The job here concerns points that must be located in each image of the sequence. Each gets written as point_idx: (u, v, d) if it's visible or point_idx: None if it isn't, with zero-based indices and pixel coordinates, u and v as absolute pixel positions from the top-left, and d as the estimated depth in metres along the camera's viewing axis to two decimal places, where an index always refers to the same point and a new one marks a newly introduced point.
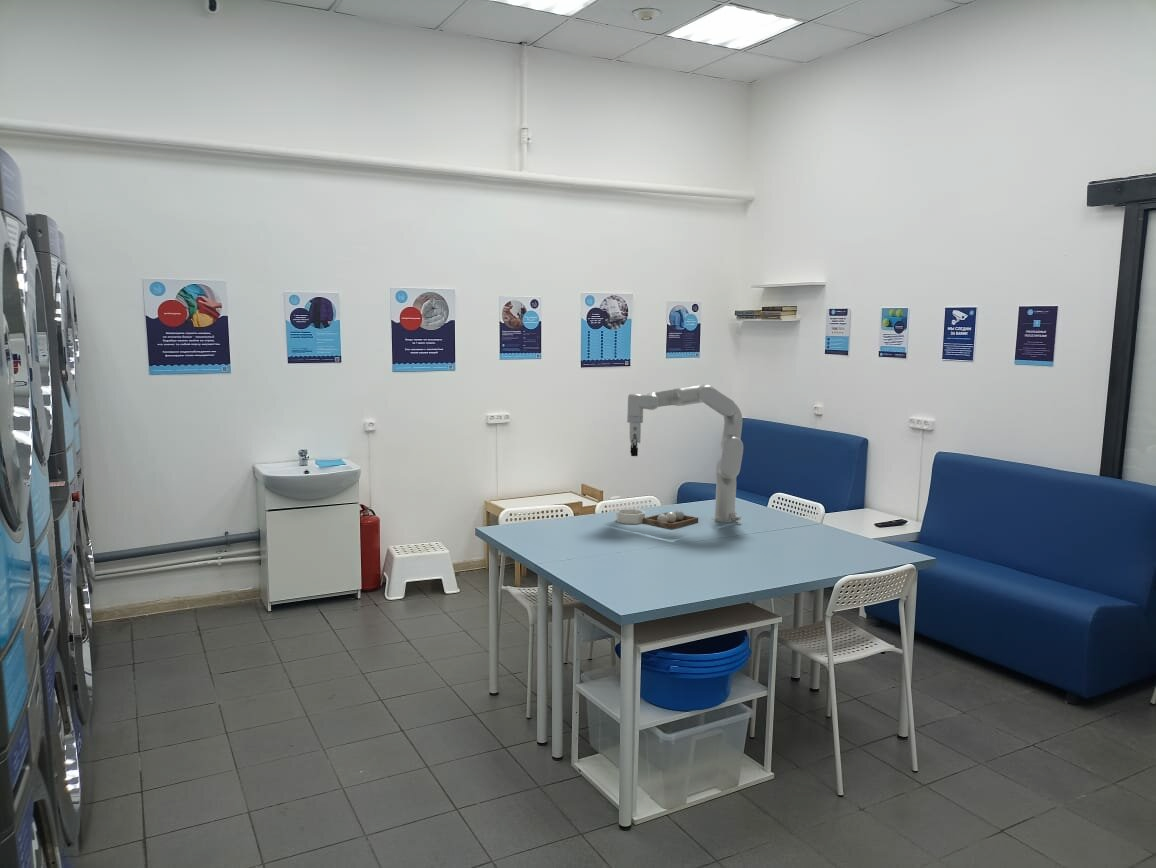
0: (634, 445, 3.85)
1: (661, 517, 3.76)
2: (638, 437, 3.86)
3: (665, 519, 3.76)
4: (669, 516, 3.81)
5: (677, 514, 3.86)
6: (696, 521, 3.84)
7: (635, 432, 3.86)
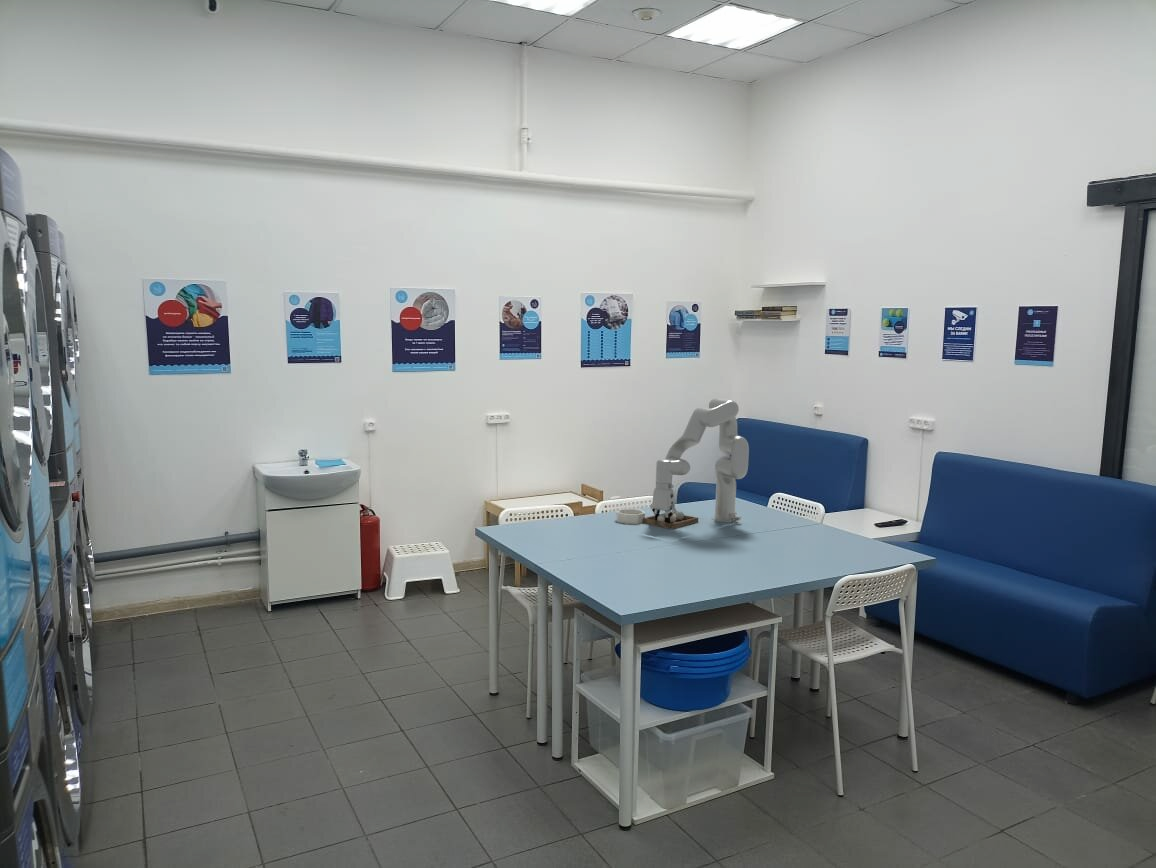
0: None
1: (661, 517, 3.76)
2: (674, 504, 3.75)
3: None
4: None
5: (677, 514, 3.86)
6: (696, 521, 3.84)
7: (672, 499, 3.74)
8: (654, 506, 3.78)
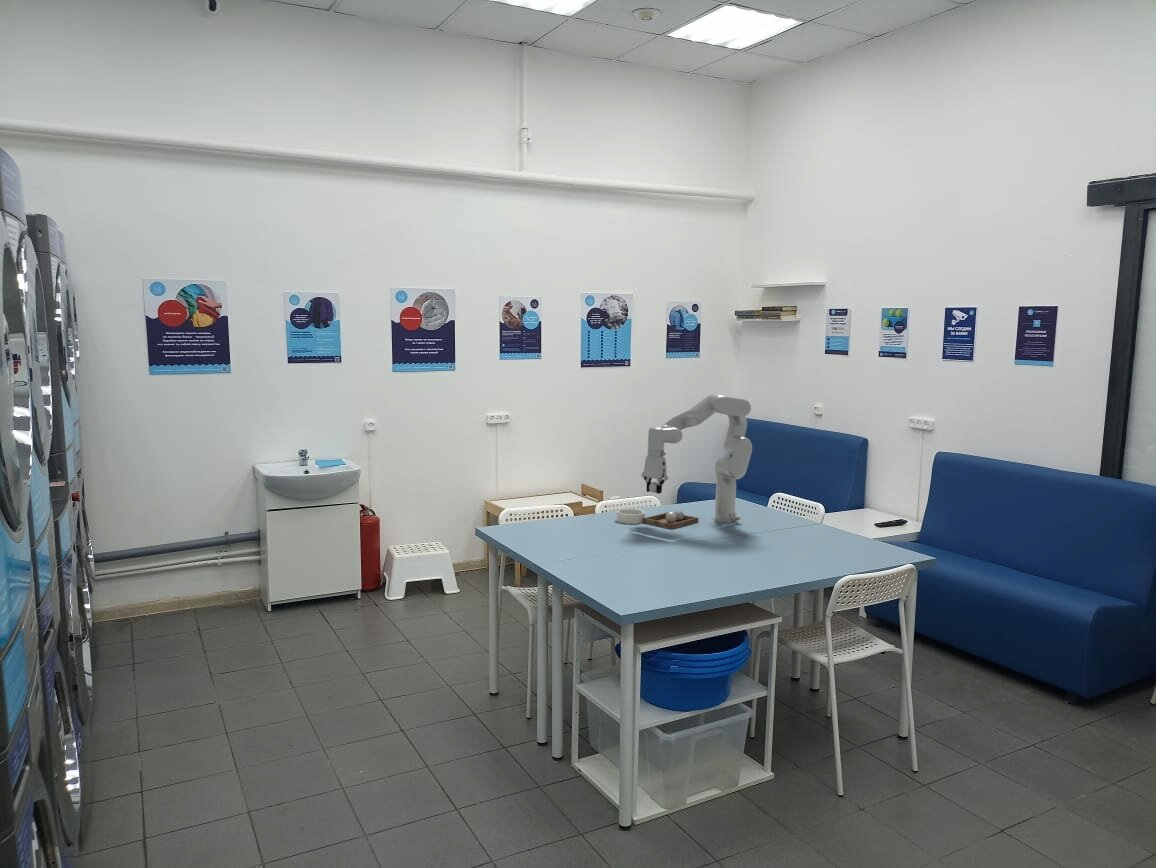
0: None
1: (653, 485, 3.77)
2: (665, 472, 3.76)
3: None
4: (669, 516, 3.81)
5: (677, 514, 3.86)
6: (696, 521, 3.84)
7: (664, 467, 3.75)
8: (646, 474, 3.79)
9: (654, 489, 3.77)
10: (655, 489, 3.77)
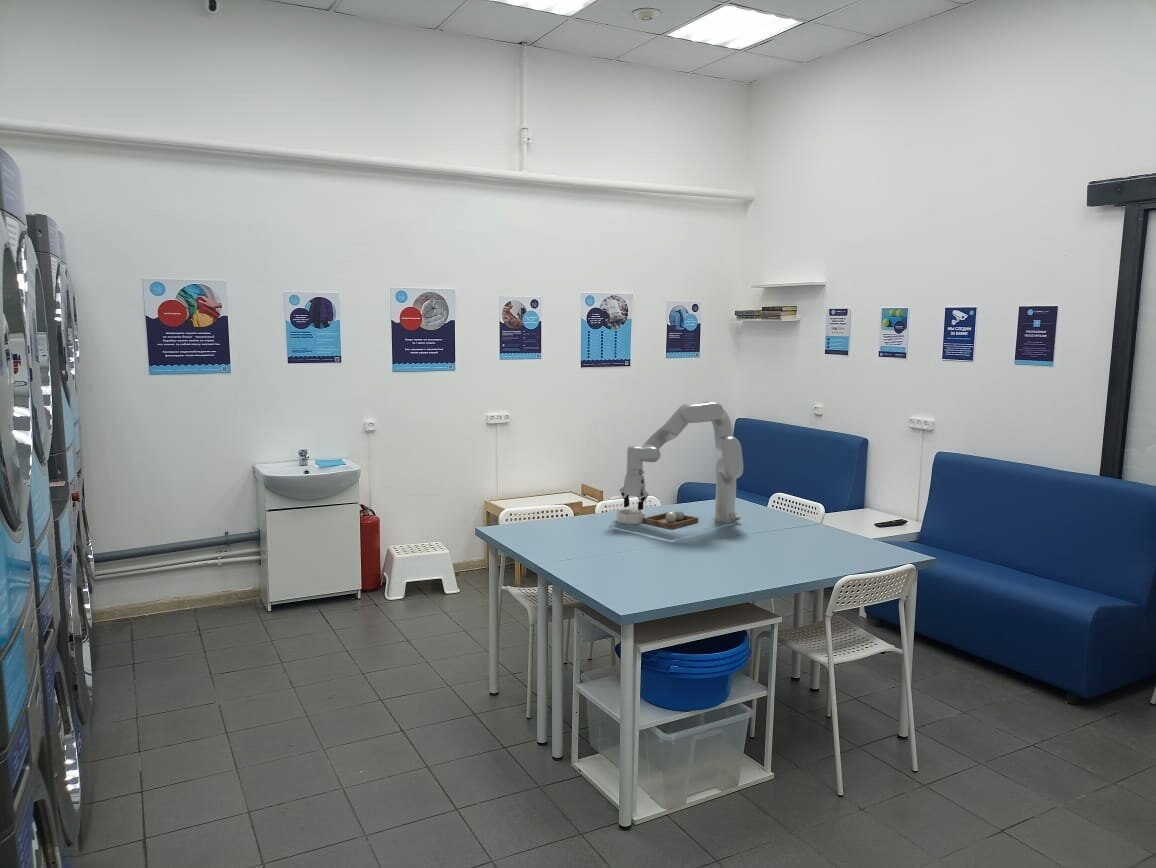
0: None
1: (632, 513, 3.85)
2: (644, 489, 3.83)
3: None
4: (669, 516, 3.81)
5: (677, 514, 3.86)
6: (696, 521, 3.84)
7: (642, 485, 3.82)
8: (625, 492, 3.86)
9: None
10: None
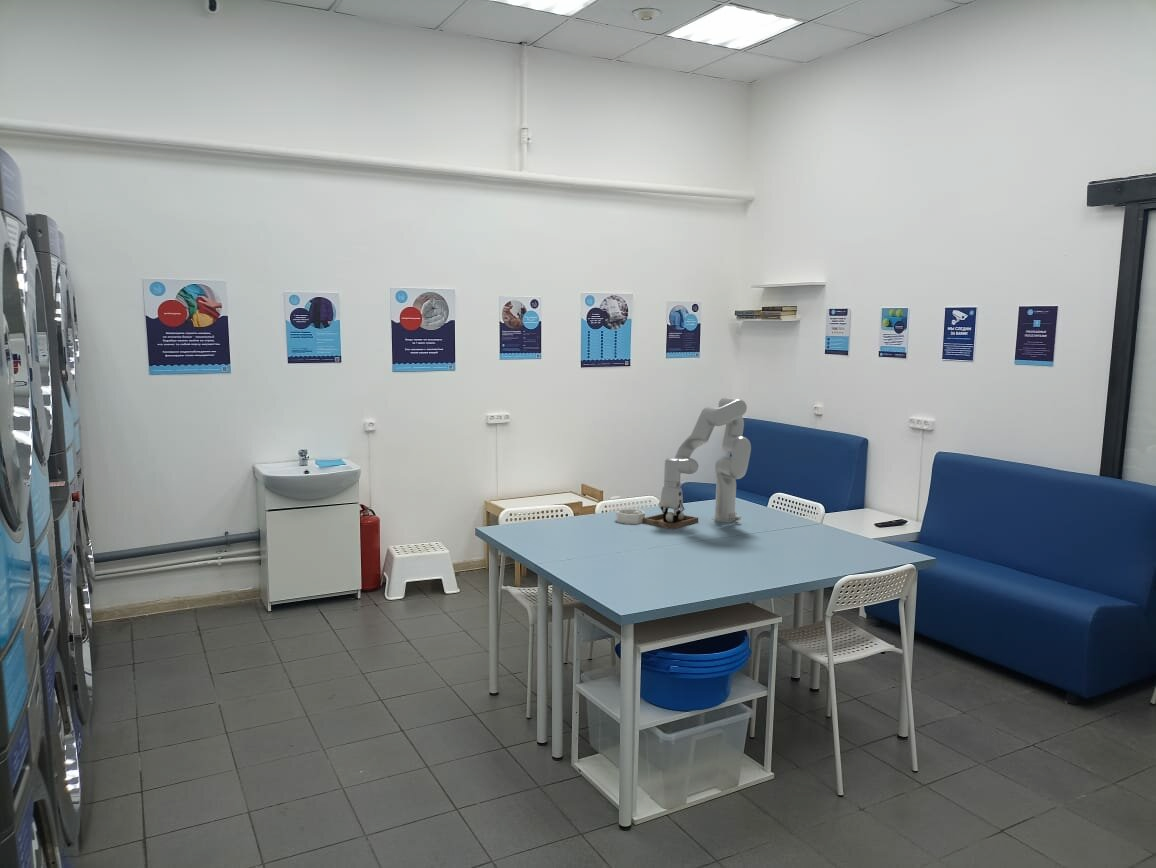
0: None
1: None
2: (682, 502, 3.80)
3: None
4: (669, 516, 3.81)
5: None
6: (696, 521, 3.84)
7: (680, 497, 3.79)
8: (662, 504, 3.83)
9: None
10: None
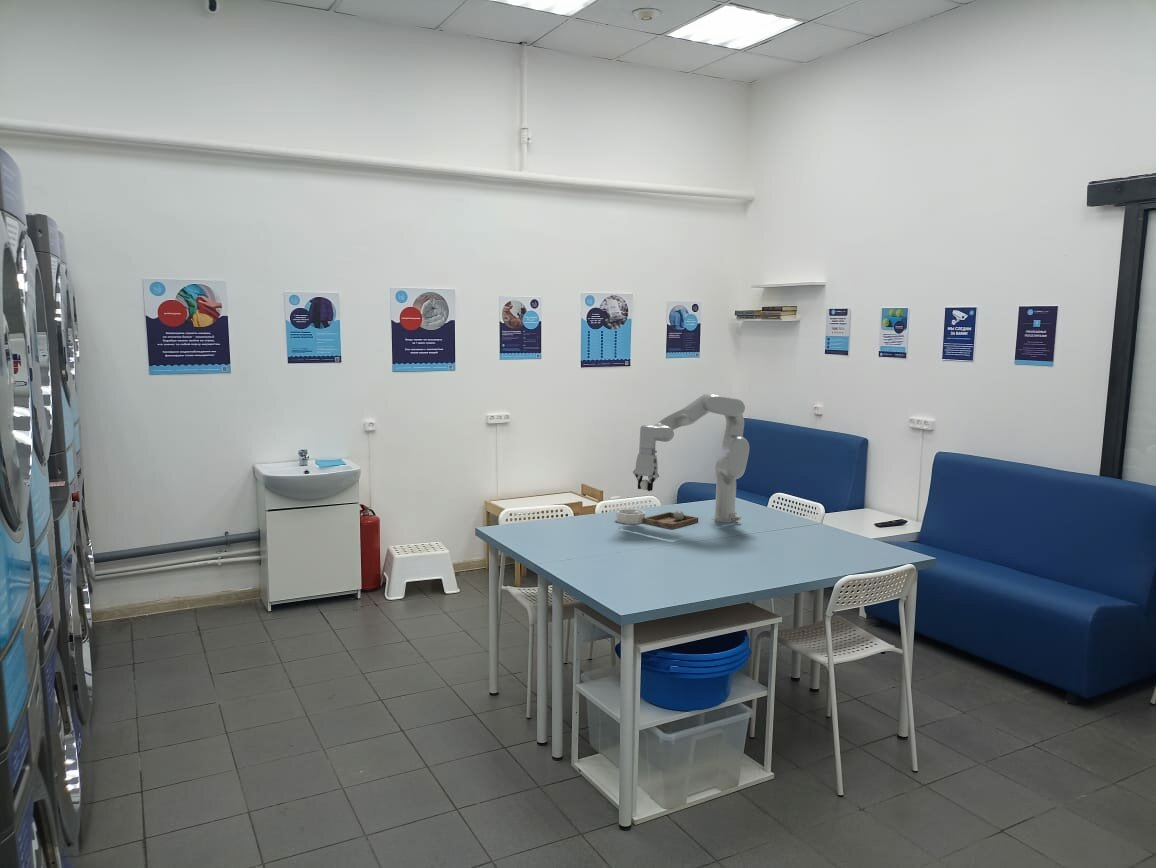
0: None
1: None
2: (657, 469, 3.79)
3: None
4: (643, 483, 3.80)
5: (677, 514, 3.86)
6: (696, 521, 3.84)
7: (655, 465, 3.77)
8: (637, 471, 3.82)
9: None
10: None
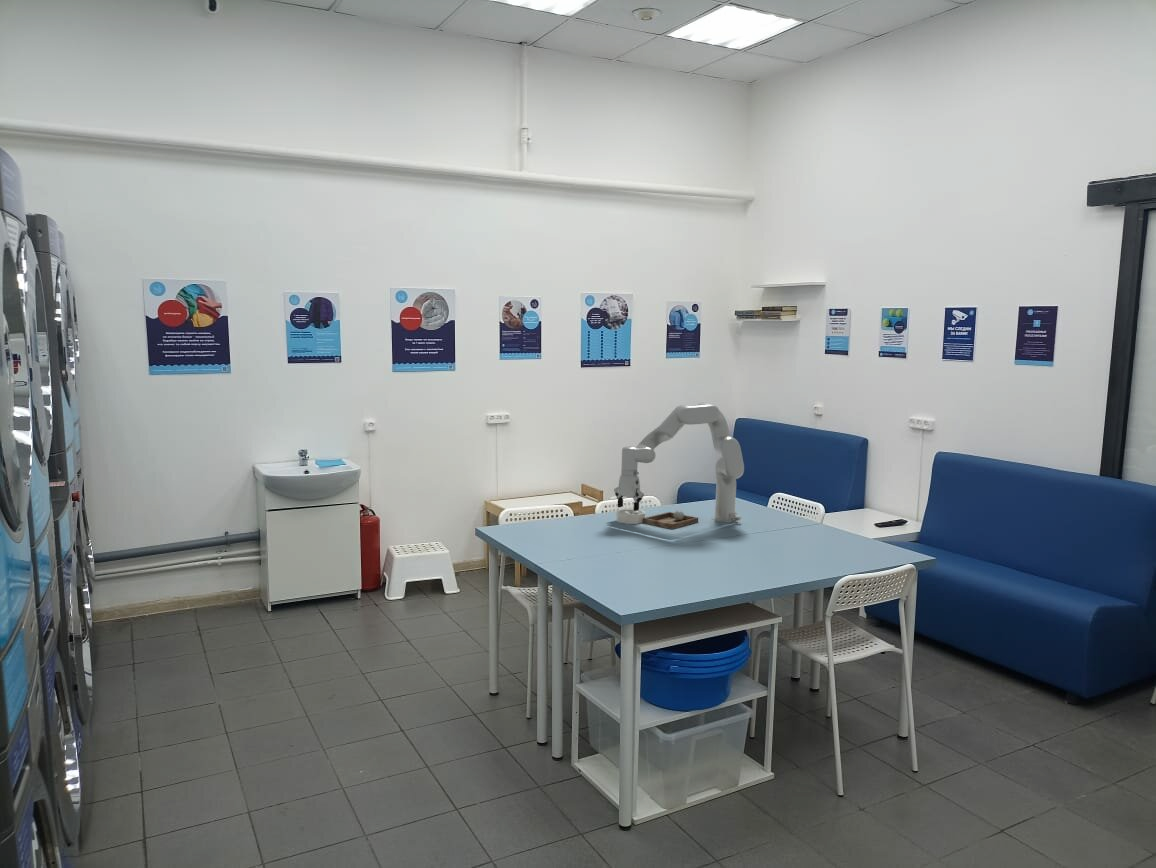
0: (639, 499, 3.78)
1: None
2: None
3: None
4: None
5: (677, 514, 3.86)
6: (696, 521, 3.84)
7: (637, 486, 3.79)
8: (620, 493, 3.84)
9: None
10: None
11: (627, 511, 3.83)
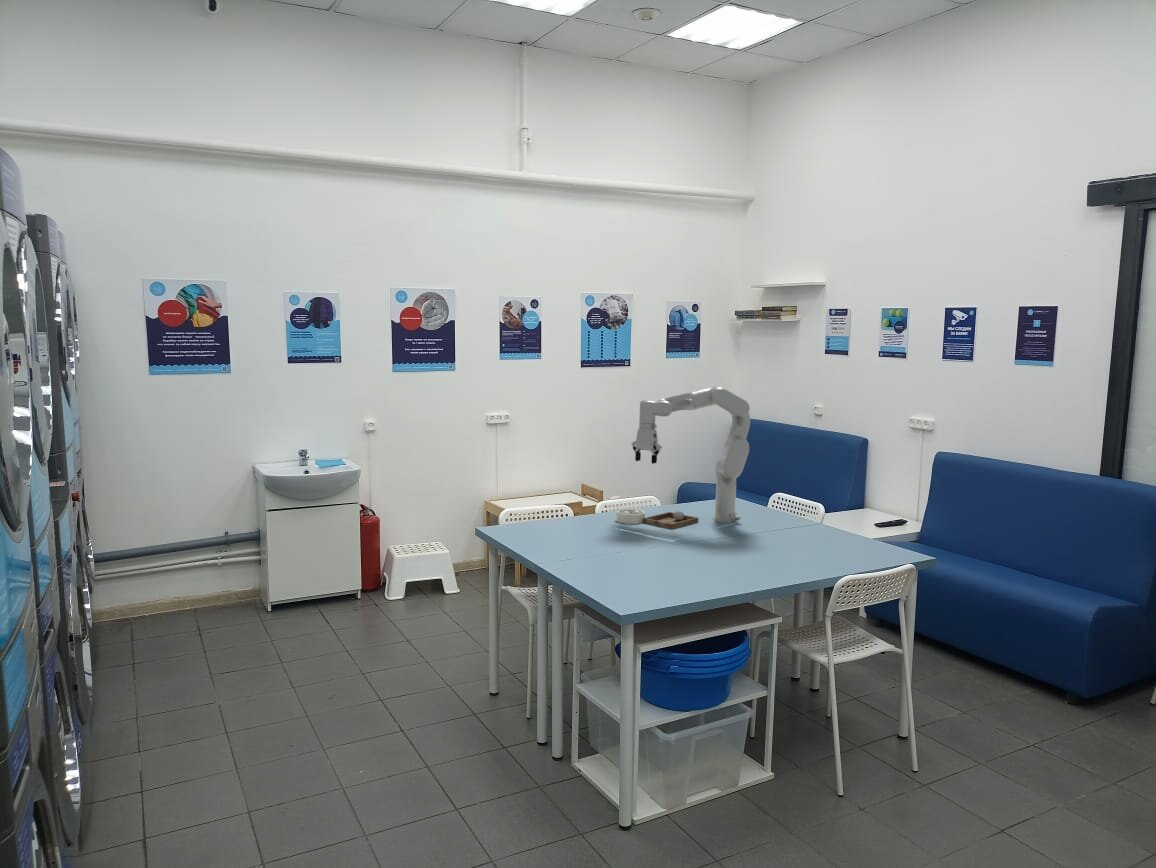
0: (657, 452, 3.83)
1: None
2: None
3: None
4: None
5: (677, 514, 3.86)
6: (696, 521, 3.84)
7: (655, 439, 3.83)
8: (638, 446, 3.88)
9: None
10: None
11: (626, 511, 3.85)
